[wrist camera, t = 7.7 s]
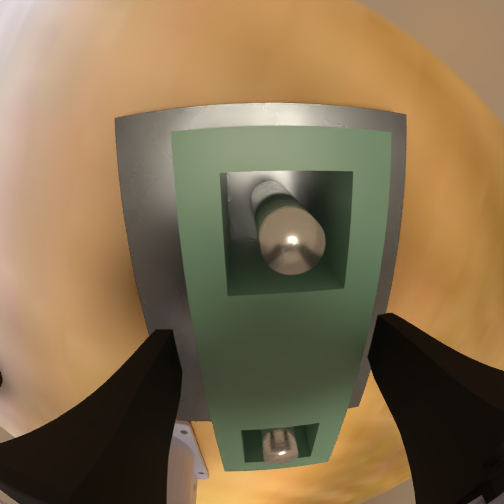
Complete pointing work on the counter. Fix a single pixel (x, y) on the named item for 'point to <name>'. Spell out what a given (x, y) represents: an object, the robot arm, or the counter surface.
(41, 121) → the counter surface
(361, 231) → the green block with holes
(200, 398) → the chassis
